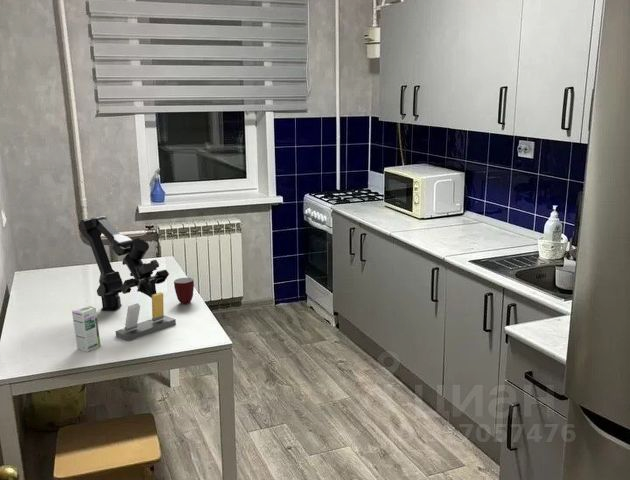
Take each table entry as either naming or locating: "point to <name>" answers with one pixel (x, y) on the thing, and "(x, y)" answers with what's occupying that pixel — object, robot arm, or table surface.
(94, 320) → the syrup box
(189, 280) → the mug
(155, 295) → the rocker amber
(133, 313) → the rocker grey
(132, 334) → the grey switch base
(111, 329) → the table surface
